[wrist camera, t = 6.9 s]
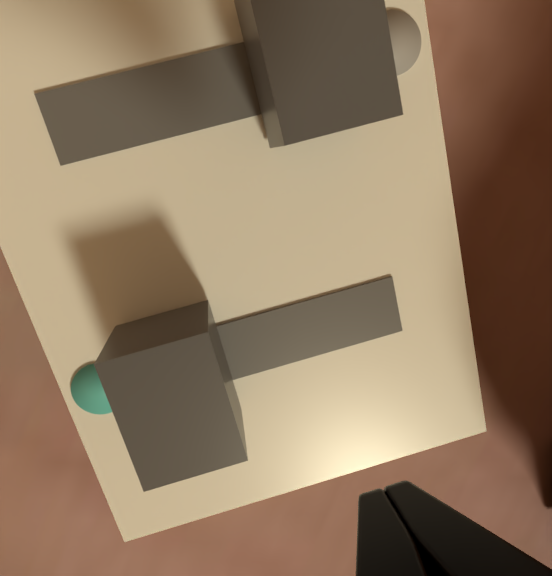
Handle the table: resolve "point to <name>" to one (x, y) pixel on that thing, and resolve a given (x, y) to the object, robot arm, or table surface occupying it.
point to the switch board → (232, 243)
